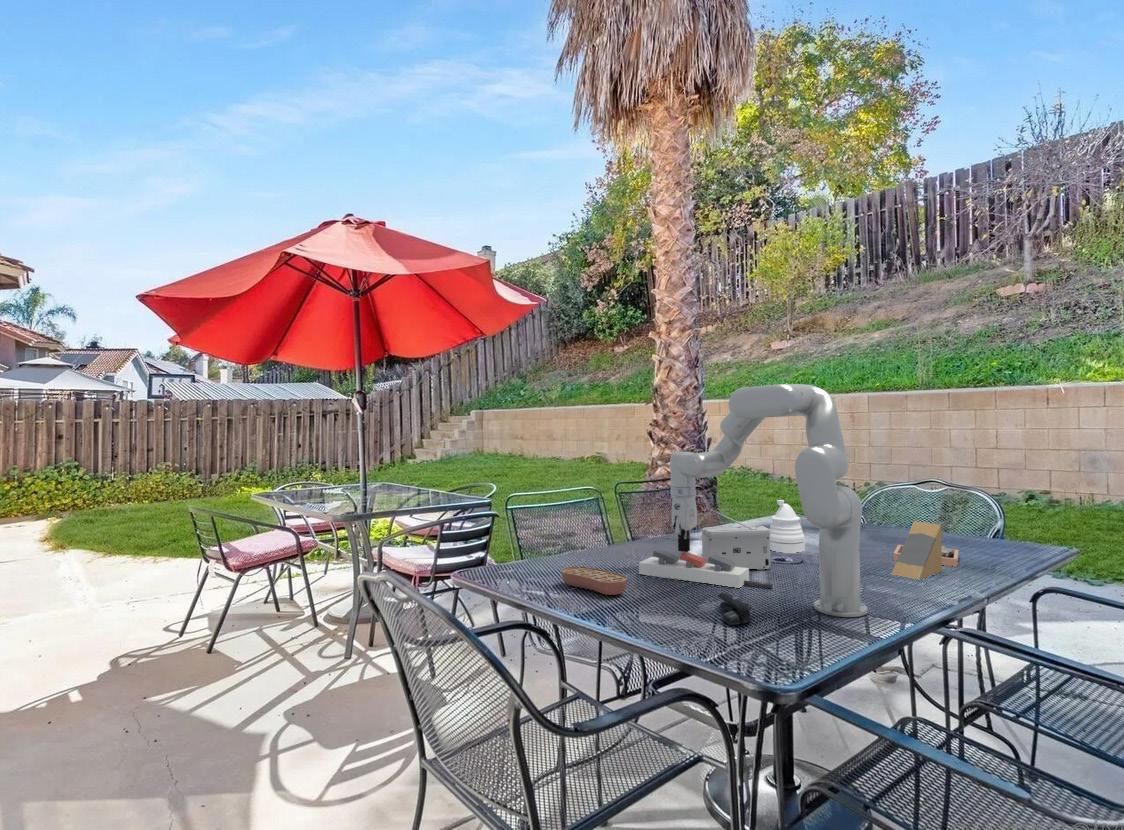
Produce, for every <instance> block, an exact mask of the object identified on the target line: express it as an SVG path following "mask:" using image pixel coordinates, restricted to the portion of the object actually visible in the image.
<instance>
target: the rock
mask: <svg viewBox="0 0 1124 830" xmlns="http://www.w3.org/2000/svg"><path fill="white" fill-rule="evenodd" d="M950 549H951V548H947V547H946V546H944V545H942V557H946V558H954V552H953V551H952V550H950Z"/></svg>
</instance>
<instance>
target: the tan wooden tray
mask: <svg viewBox="0 0 1124 830" xmlns="http://www.w3.org/2000/svg"><path fill="white" fill-rule="evenodd" d="M903 546H904V544H897V546H896V548H895V550H894V552H893V553H892V554H893V561H894V562H897V560H898V558H899V555H900V553H901V551H902V548H903ZM949 549H950V550H952V551H953V552H954V558H946V557H942V565H944V566H943V567H952V566H953V568H958V562H959V549H954V548H953V549H951V548H949Z"/></svg>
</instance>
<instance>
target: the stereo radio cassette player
mask: <svg viewBox="0 0 1124 830" xmlns="http://www.w3.org/2000/svg"><path fill="white" fill-rule="evenodd" d="M710 511H711V512H714V513H716V514H718V515H721V516H722V517H724V518H726V519H728V520H730V521H732V522H734V523H737V524H739V525H740V526H714V527H703V528H702V529H701V550H702V551H701V552H702V553H701V555H702V558H704V559H707V560H706V563H708V564H711V563H709V562H708V559H709V557H710V556H712V555H713V554H714V555H717V556H719V557H722V558H725V559H727V560H730V561H732V562H735V567H742V568H749V569H757V570H765V569H767V570H769V568H770V567H771V551H770V533H771V532H770V528H768V527H766V526H764V525H757V526H756V525H752V526H751V525H749V526H748V525H746V524H744V523H742V522H740V521H738V520H735V519H733V518H731V517H728V516H727V515H724V514H722V513H720V512H718V511H715V510H714V509H712V508H711V509H710Z"/></svg>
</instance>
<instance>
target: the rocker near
mask: <svg viewBox="0 0 1124 830" xmlns="http://www.w3.org/2000/svg"><path fill="white" fill-rule="evenodd" d="M708 562H709V563H711V564H714V565H719V566H721V567H722V568H724V569H727V570H729V571H730V570H732V569H733V568H734V567H735V562H732V561H730V560H727V559H725V558H722V557H719V556H717V555H714V554H713V555H712V556H710V557H709V559H708Z"/></svg>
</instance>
